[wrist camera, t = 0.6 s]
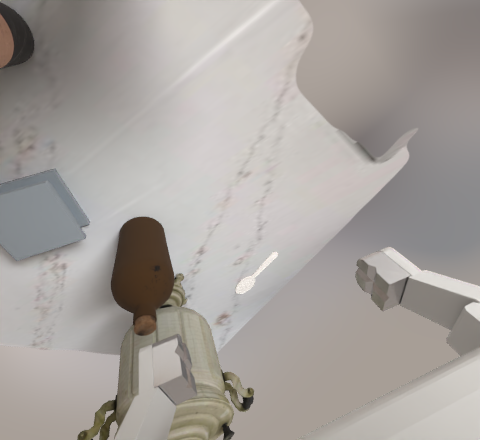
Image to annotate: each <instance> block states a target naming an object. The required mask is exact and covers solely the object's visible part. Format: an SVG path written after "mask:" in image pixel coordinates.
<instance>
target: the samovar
mask: <svg viewBox="0 0 480 440" xmlns="http://www.w3.org/2000/svg"><path fill="white" fill-rule="evenodd" d="M183 279H184V276H183V274H177V275H176V279H175V280H174V287H173V291H172V294H171V296H170V297H169V299H168V300H167V301H166V302H165V303H164V304H163V305H162V306H161V307H160V308H158V309H157V310H156V318H157V321H156V330H155V331H154V332H153V333H152V334H150V335H146V336H139V335H136V334H135V332H134V325H132V327H131V328H130V329H129V330H128V332H127V333H126V335H125V337H124V340H123V342H122V346H121V354H120V367H119V368H120V369H119V383H118V394H117V395H116V399H115V400H112V401H108V402H107V403H105V404H103V405H102V407H101V408H100V409H99V410H98V411H97V412H96V413H95V421H94V426H93V427H92V428H91V429H89V430H84V431H82V432H80V434H79V435H78V440H93V439H92V438H93V437H94V436H96V435H97V434H98V432H99V430H100V439H99V440H107V438H108V437H109V431H110V430H109V429H110V425H111V423H112V422H114V421H115V420H116V422H117V424H118V429H117V432H116V434H115V437H116V435H117V433H118V430H119V428H120V426H121V424H122V422H123V420H124V418H125V416H126V414H127V412H128V410H129V408H130V405H131V403H132V401H133V399H134V397H135V396H137V395H139V360H138V354H139V350H140V349H141V348H143V347H146V346H148V345H151V344H153V343H156V342H158V341H161V340H163V339H166V338H168V337H171V336H173V335H176V334H179V335H180V336H181V338H182V343H185V344H186V346H187V348H188V350H189V354H190V357H191V362H192V368H191V371H190V372H191V373H192V375H193V376H194V378H195V384H196V390H197V396H195V397H193V398H191V399H189V400H186V401H184V402H182V403H180V404H178V405H176V411H175V414H174V417H173V421H172V424H171V428H170V431H169V434H168V438H167V440H215V439H217V438H218V437H219V436H220V435H221V434H223V433H224V439H223V440H230V439H231V437H232V436H233V435H234V432H233V431H231V430H230V428H229V425H230V424H231V422H232V419H233V415H234V411H233V408H232V406H231V405H230V404H229V401H228V399H227V398H226V397H225V395H224V393H225V390H229V392H230V396H231V401H232V402H233V404H234V405H235V407H236V408H237V409H238V410H239V411H243V412H246V411H247V410H249V408H250V405H251V404H252V403H253V395H254V390H253V389H252V388H247V389H244V388H242V385H241V382H240V379H239V377H237V376H236V375H235V374H234V373H231V372H225V373H223V372H222V370H221V368H220V364H219V361H218V357H217V352H216V348H215V344H214V340H213V337H212V333H211V329H210V326H209V325H208V323H207V321H206V320H205V319H204V317H203V316H201V315H200V314H198V313H197V312H196V311H194V310H191V309H188V308H185V307H181V306H182V305H184V304H186V302H187V299H185V291H184V290H183V288H182V285H181V283H180V282H181V281H182V280H183ZM227 380H231V381H232V383H233V386H234V388H233V387H232V386H231V384H230V383H227V382H225V381H227ZM237 392H238V393H239V394H240V395H241V396H242V397H243V403H240V402H239V400H238V396H237ZM111 410H114V412H113V413H112V414H111V415H110V416H109V417H108V418H107V420H106V422H105V424H104V421H105V414H106V411H111ZM103 424H104V425H103ZM102 425H103V426H102ZM101 426H102V427H101ZM100 427H101V429H100ZM115 437H114V439H115Z"/></svg>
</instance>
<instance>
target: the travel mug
mask: <svg viewBox="0 0 480 440" xmlns="http://www.w3.org/2000/svg"><path fill="white" fill-rule="evenodd" d="M33 49H34V40H33V36H32V33H31V31H30V29H29V27H28V25H27V24H26V22H25V21H24V20H23V19H22V17H21V16H20V15H19V14H18V13H16V12H15V11H14V10H13V9H11V8H10V7H8V6H6V5H5V4H3V3H0V69H1V68H5V67H9V66H13V65H17V64H20V63H23V62H25V61H26V60H28V59H29V58H30V56H31V55H32V53H33Z"/></svg>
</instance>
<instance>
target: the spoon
mask: <svg viewBox="0 0 480 440" xmlns="http://www.w3.org/2000/svg"><path fill="white" fill-rule="evenodd" d="M277 256H278V252H273V253H272V254H271V255H270V256H269V257H268V258H267V259H266V261H265V262H264V263H263V264H262V265H261V266H260V267H259V268H258V270H257V271H256V272H255V273H254V274H253V275H252V276H250V277H246V278H244V279H242V280H241V281H240V282H239V283H238V285H237V287H236V293H238V294H241V293H244V292H246V291H248V290H249V289H251V288H252V287H253V285H254V284H255V278H256V276H257V275H259V273H260V272H261V271H262V270H264V268H266V267H267V266H268V265H269V264H270V263H271V262H272V261H273V260H274V259H275V258H276V257H277Z"/></svg>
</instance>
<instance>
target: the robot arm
mask: <svg viewBox="0 0 480 440" xmlns="http://www.w3.org/2000/svg"><path fill="white" fill-rule="evenodd" d="M357 266H358V267H359V268H358V270H357V271H356V280H357V283H358V284H359V286H360V287H361V288H362V290H363V291H364V292H367V293H369V294H371V299H372V300H373V302H374V303H375V304H376V305H377V306H378V307H379V308H380V309H381V310H382V311H385V310H387V309H389V308H392V307H394V306H397V305H399V304H400V306H402V307H404V308H406V309H409V310H411V311H413V312H415V313H417V314H419V315H421V316H423V317H425V318H427V319H429V320H431V321H433V322H435V323H438V324H439V325H442V326H444V327H446V328H448V329H450V330H451V332H450V333H449V335H448V337H447V343H448V344H449V345H450V346H451V347H452V348H453V349H454V350H455V351H456V352H457V353H458V354H459V355H460V357H458V358H456V359H454V360H452V361H450V362H448V363H446V364H444V365H442V366H440V367H438V368H436V369H434V370H432V371H430V372H429V373H426V374H425V375H423V376H421V377H419V378H417V379H415V380H413V381H411V382H409V383H407V384H405V385H403V386H401V387H399V388H397V389H395V390H393V391H391V392H389V393H387V394H385V395H383V396H381V397H379V398H377V399H375V400H373V401H371V402H370V403H367V404H365V405H364V406H362V407H360V408H358V409H356V410H354V411H352V412H350V413H348V414H346V415H344V416H342V417H340V418H338V419H336V420H334V421H332V422H330V423H328V424H326V425H324V426H322V427H320V428H318V429H316V430H315V431H312V432H311V433H308V434H307V435H305V436H303V437H301V438H299V439H297V440H480V286H476V285H473V284H470V283H467V282H463V281H460V280H457V279H454V278H450V277H447V276H443V275H440V274H437V273H434V272H430V271H427V270H424V271H421V270H420V269H419V268H418V267H416V266H415V265H414V264H412V263H411V262H410V261H409V260H407V259H406V258H405V257H403V256H402V255H401V254H399V253H398V252H397V251H396V250H394V249H393V248H391V247H387V248H384V249H382V250H380V251H376V252H374V253H372V254H369V255H367V256H365V257H363V258H360V259H359V260H358V261H357ZM138 360H139V395H137V396H135V397H134V399H133V401H132V403H131V405H130V408H129V410H128V412H127V414H126V416H125V418H124V420H123V422H122V424H121V426H120V428H119V430H118V433H117V435H116V437H115V439H114V440H167V438H168V434H169V431H170V428H171V424H172V421H173V417H174V414H175V411H176V405H178V404H180V403H182V402H184V401H186V400H189V399H191V398H193V397H195V396H197V390H196V384H195V378H194V376H193V375H192V373H191V372H190V371H191V368H192V362H191V357H190V354H189V350H188V348H187V346H186V344H185V343H182V338H181V336H180V335H179V334H176V335H173V336H171V337H168V338H166V339H163V340H161V341H158V342H156V343H153V344H151V345H148V346H146V347H143V348H141V349H140V350H139V354H138Z"/></svg>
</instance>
